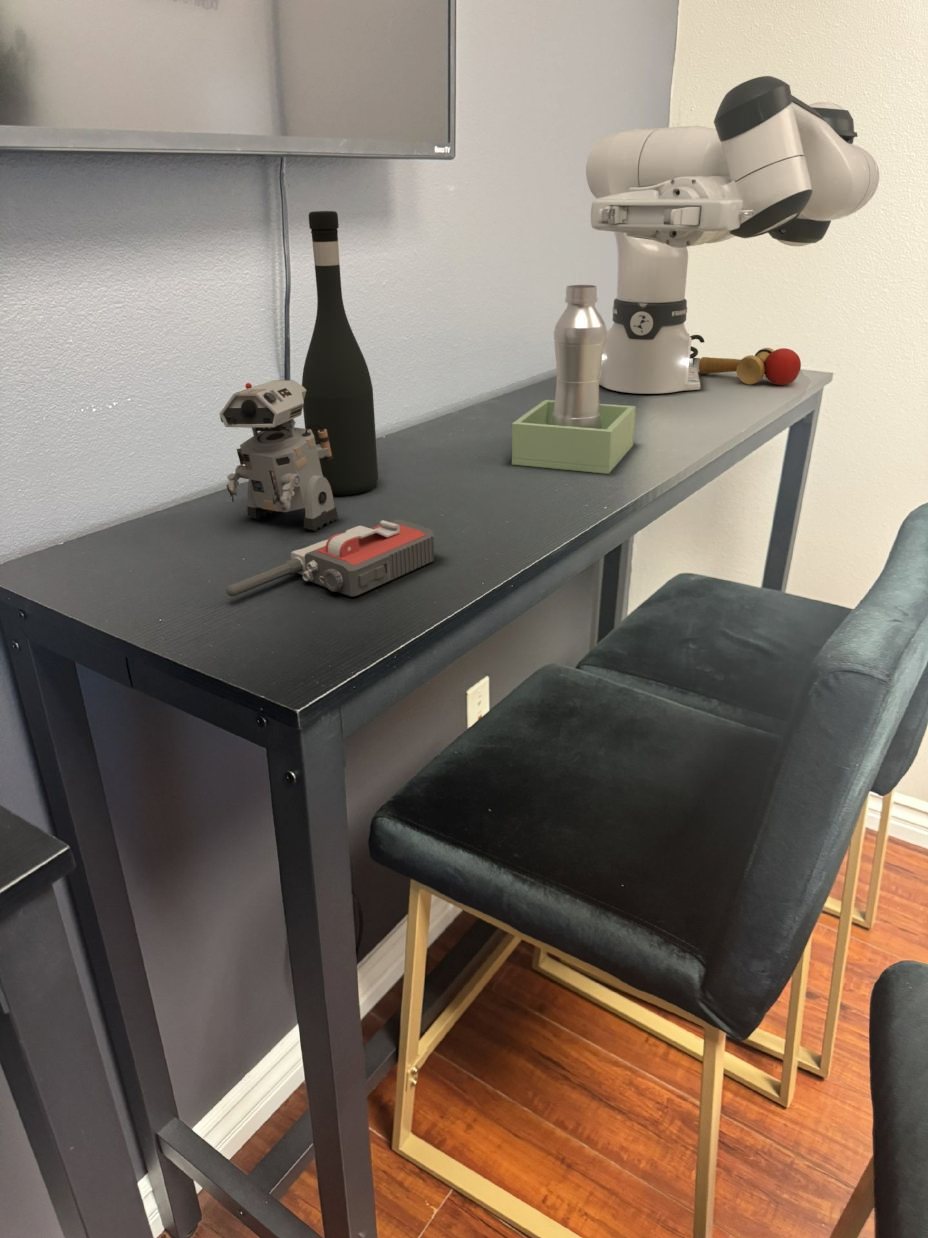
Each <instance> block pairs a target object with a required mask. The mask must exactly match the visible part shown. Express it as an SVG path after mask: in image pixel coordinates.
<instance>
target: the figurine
mask: <svg viewBox="0 0 928 1238" xmlns="http://www.w3.org/2000/svg"><path fill="white" fill-rule="evenodd" d="M306 391H307V390H306V389H305V388H304V387H303V386H302V384H300V383H299V382H297V381H295V380H294V379H284V380H283V379H281V380H280V379H278V380H277V379H274V380H273V379H272V380H269V381H268V382H264V383H261V384H257V385H255V386H252V384H251V383H250V382H246V384H245V389H243V390H240V391H236V392H234V393H233V394H232V395H231V396H230V398H229V400H228V401H227V403H225V405H224V406H223V408H222V410H221V411H220V412H219V419H220V421H221V423H222V424H223V425H224V427H225V428H243V429H244V428H246V429H247V428H248V429H251V431H252V434H253V436H252V437H249V438H248V439H247V440H245V441H244V442H242V443H241V444H239V447H240V448H236V453H237V456H238V462H239V464H238V465H237V466H236V467H235V470H234V473H230V474H227V476H226V478H227V479H228V480H229V481H228V483H227V484H226V485H225V487H226V489H227V492H228V494H229V495H230V497H231V502H232V503H234V502H235V499H234V496H236V497H237V496H238V492H237V488H238V486H239V485H240V482H239V480H240V479H245V480H248V482H247V483H248V484H247V500H248V501H247V502H248V506H247V508H246V509H247V511H246V512H247V517H249V518H251V519H254V520H260V519H261V517H262V518H265V517H266V515H267V514H273V513H274V512H281V513H289V512H292V511H297V510H302V509H304V512H305V513H304V515H305V516H304V517H303V528H305V529H307V531H311V532H317V531H318V530H319V529H322V528H323V527H324V525H327V526H328V525H330V523H334V522H335V520H336V518H338V511H337V507H335V502H334V495H333V494H332V490H331V487H330V484H329V482H328V480H327V479H326V478H325V477H323V475H322V470H321V465H320V461H319V458H323V460H325V461H328V460H331V459H333V455H332V454H331V449H330V444H329V437H328V434H327V430H326V429H322V427H321V426H320V425H318V424H311V425H309V426H308V427H307V429H305V428H303V427H302V428H301V427H295V426H296V421H295V419H296V418H299V417H301V416H302V413H303V404H304V398H305V394H306ZM314 425H316V426H319V427H320V430H318V435H319V441H320V444H321V445H320V444H318V445H316V442H315V438H314V435H313V433H312V430H310V429H309V428H310V427H311V426H314Z"/></svg>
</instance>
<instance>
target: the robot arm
mask: <svg viewBox="0 0 928 1238" xmlns="http://www.w3.org/2000/svg"><path fill="white" fill-rule="evenodd" d="M713 124H714V128H713V127H706V126H699V125H690V126H689V125H687V126H668V127H652V128H651V127H649V128H636V129H624V130H621V131H618V132H614V133H612V134H609V135H605V136H603V137H601V138H599V139H598V140H597V141H595V143H594V144H593V146H592V148H591V150H590V152H589V154H588V156H587V159H586V166H585V176H586V183H587V185H588V189H589V191H590V193H591V194H592V196H593V197H594V198H595V199H594V200H592V203H591V206H590V226H591V228H592V229H593V230H596V231H604V232H613V234H614V237H615V243H616V250H617V278H616V280H617V281H616V285H617V286H616V298H614V299H613V305H612V322H613V324H612V326H611V327H610V328H609V329H608V330H607V334H606V340H605V346H604V351H603V356H602V362H601V370H600V375H599V378H600V380H599V386H601V387H603V388H605V389H608V390H610V391H614V392H615V391H616V392H620V393H627V394H641V395H642V394H643V395H645V394H646V395H647V394H648V395H649V394H651V395H653V394H654V395H655V394H670V393H677V392H683V391H696V390H701V380H700V376H699V369H698V368H697V367H695V366H694V362H695V360H694V358H696V357H697V356H698V355H699V350H698V349H697V348H696V347H695V346H692V341H693V340H697V341H699V343H701V344H702V343H703V344H704V343H705V339H704V337H703V336H702V335H700V334H693V335H692V334H691V335H690V333H689V332H688V331H687V328H686V324H685V322H687V313H688V305H687V304H688V301H687V299H686V287H687V278H688V277H687V275H688V264H689V263H688V262H689V251H688V248H689V247H695V246H701V245H705V244H715V243H720V242H725V241H727V240H730V239H732V238H733V239H734V238H735V237H738V238H741V239H751V238H755V237H759V236H762V235H766V234H768V235H769V236H770V237H771V238H772V239H773V240H776V241H778V242H779V243H781V244H783V245H785V246H788V247H804V246H809V245H811V244H816V243H818V242H820V241H822V240H823V238H824V237H825V235H826V234H827V231H828V230H829V227H830V225H831V222H832V221H836V220H839V219H843V218H846V217H849V216H851V215H853V214H854V213H857V212H858V211H860V210H861V209H862V208H863V207H865V206H866V205H867V204H868V203H869V202H870V201H871V200H872V198H873V197H874V195H875V194H876V192H877V190H878V187H879V182H880V169H879V165H878V163H877V161H876V160H875V158H874V157H873V155H872V154H871V153H869V152H868V151H867V150H865V149H864V148H863V147H861V146H859V145H855V144H854V139H855V138H858V137H859V136H858V132H857V131H856V132H855V125H854V124H855V123H854V118H853V116H852V114H851V112H850V111H849V110H848V109H845V108H843V106H841V105H839V104H836V103H834V102H831V101H817V102H814V103H813V102H812V103H811V104H807V103H806V102H804V101H802V100H801V99H799V98H797V97H796V96H794V95H793V94H792V92H791V85H790V84H789V83H787V82H785V81H784V80H782V79H780V78H777V77H774V76H771V75H763V76H762V75H761V76H758V77H754V78H751V79H748V80H746V81H744V82H741V83H739V84H738V85H736V86H734V87H733V88H731V89H730V90H729V91H727V93H726V94H724V97H723V98H722V100H721V102H720V104H719V107H718V109H717V111H716V114H715V116H714V120H713ZM691 352H692V353H691Z"/></svg>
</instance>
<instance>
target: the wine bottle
mask: <svg viewBox="0 0 928 1238" xmlns="http://www.w3.org/2000/svg"><path fill="white" fill-rule="evenodd" d="M308 226H309V230H311V231H310V233H311V240H312V250H313V260H314V261H313V262H314V273H315V284H316V285H315V286H316V298H317V301H316V303H317V304H316V316H315V322H314V327H313V331H312V336H311V339H310V342H309V345H308V349H307V353H306V356H305V360H304V364H303V369H302V376H301V386H303V387H304V388H305V389H306V390H307V391H306V394H305V398H304V404H303V409H302V413H303V421H304V429H307V427H308V426H309V425H311V424H318V425H320V426H321V427H322V429H326V430H327V434H328V437H329V444H330V449H331V454H332V455H333V459H331V460H328V461H325V460H323V458H319V461H320V465H321V470H322V475H323V477H325V478H326V479H327V480H328V482H329V484H330V487H331V490H332V494H333V496H352V495H358V494H361V493H364V492H368V491H369V490H371V489H372V488H373V487H375V486H376V484H377V482H378V478H379V465H378V464H379V463H378V449H377V434H376V419H375V418H376V417H375V402H374V401H375V400H374V390H373V383H372V378H371V374H370V370H369V367H368V363H367V362H366V359H365V356H364V354H363V352H362V350H361V347H360V345H359V343H358V341H357V339H356V336H355V334H354V332H353V329H352V327H351V325H350V322H349V320H348V316H347V313H346V310H345V305H344V299H343V291H342V280H341V279H342V277H341V266H340V265H341V264H340V263H341V262H340V249H339V248H340V247H339V235H338V233H339V230H338V229H339V214H338V212H337V211H334V210H315V211H314V210H313V211H310V212H309V213H308ZM309 429H310V430H312V433H313V435H314V438H315V442H316V445H318V444H320V441H319V435H318V430H320V427H319V426H316V425H314V426H311V427H310V428H309ZM320 445H321V444H320Z"/></svg>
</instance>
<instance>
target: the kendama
mask: <svg viewBox="0 0 928 1238" xmlns="http://www.w3.org/2000/svg"><path fill="white" fill-rule="evenodd" d="M801 368H802V362H801V357H800V356H799V354H798V353H797V352H796V351H794V350H792V349H789V348H787V347H785V348H783V347H782V348H778V349H777V348H776V349H775V350H774V349H773V348H770V347H763V348H760V349H759V350H758V351H756V353H755V354H754V355H753V354H752V355H751V354H750V355H746V356H744V357H743V358H741V359H739V358H725V357H709V356H702V357H701V358H700V359H699V362H698V372H699V373H700V375H707V374H708V375H710V374H721V373H732V372H733V373H734V372H736V375H737V377H738V379H739V380H740V381H741V382H742V383H744V384H746V385H755V384H757V383H758V382H761V381H762V380H763V378H764V377H765V378H766V379H767V380H768V382H770V383H772V384H773V385H777V386H784V385H789V384H792V383H793V382H794V381H795V380H796V379H797V378H798V376H799V374H800V372H801Z"/></svg>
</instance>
